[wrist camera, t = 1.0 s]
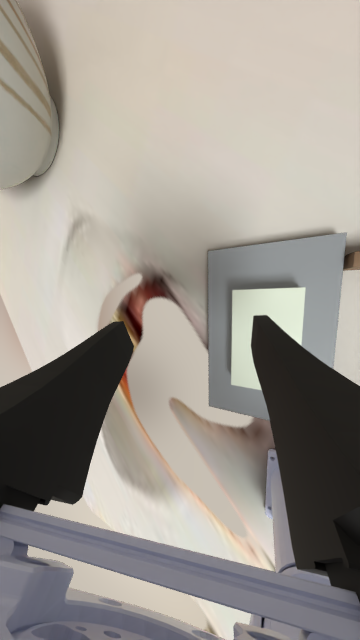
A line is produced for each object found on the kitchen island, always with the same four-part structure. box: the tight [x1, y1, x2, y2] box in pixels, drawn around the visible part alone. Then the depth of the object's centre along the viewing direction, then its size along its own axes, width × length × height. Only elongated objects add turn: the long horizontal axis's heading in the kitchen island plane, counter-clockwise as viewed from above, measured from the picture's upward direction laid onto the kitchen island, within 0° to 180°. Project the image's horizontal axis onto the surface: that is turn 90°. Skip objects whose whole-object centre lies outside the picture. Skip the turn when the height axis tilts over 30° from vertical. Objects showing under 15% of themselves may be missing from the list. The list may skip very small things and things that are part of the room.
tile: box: [231, 287, 306, 390], centre depth 18 cm, size 10×6×2 cm, turn 1°
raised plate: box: [208, 232, 347, 421], centre depth 19 cm, size 19×12×2 cm, turn 1°
